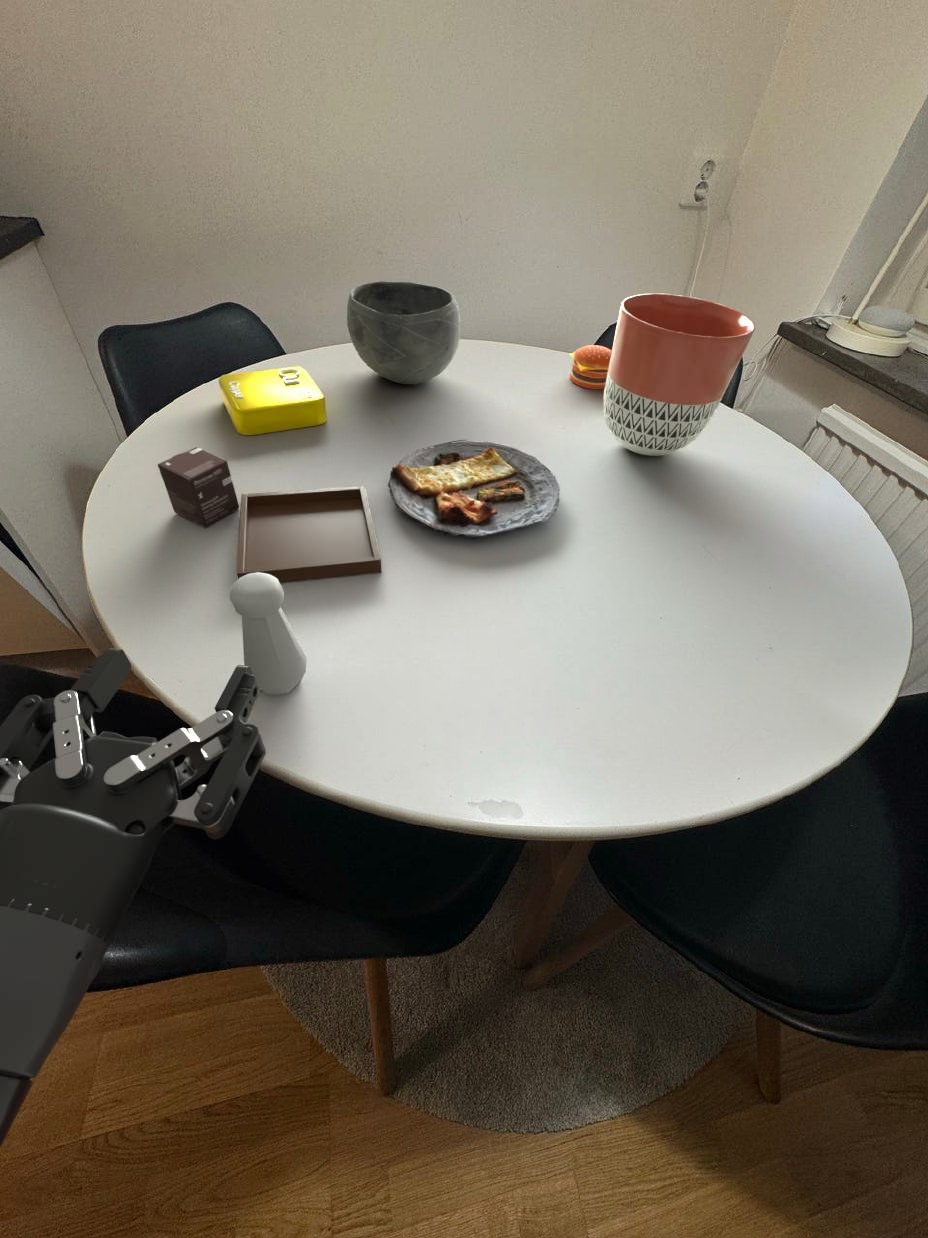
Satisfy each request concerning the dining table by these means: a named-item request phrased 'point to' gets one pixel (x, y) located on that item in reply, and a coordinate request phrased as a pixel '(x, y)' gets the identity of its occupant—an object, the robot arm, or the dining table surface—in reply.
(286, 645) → the salt shaker
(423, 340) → the bowl
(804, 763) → the dining table surface
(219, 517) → the box
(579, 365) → the hamburger
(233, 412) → the element tile
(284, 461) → the dining table surface
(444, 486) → the food plate
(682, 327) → the planter
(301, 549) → the tray
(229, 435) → the dining table surface
